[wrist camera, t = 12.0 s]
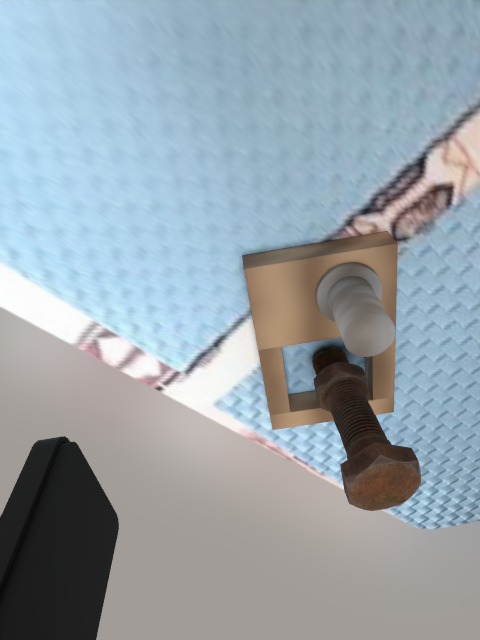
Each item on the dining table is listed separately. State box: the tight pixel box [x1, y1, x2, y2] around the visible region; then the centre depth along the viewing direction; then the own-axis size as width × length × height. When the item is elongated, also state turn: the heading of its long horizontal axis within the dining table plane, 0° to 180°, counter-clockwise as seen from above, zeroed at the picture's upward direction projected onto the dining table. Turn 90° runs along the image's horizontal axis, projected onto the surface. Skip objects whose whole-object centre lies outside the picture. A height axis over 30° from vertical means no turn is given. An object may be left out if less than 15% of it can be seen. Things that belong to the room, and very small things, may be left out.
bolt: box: [312, 347, 421, 511], centre depth 38 cm, size 6×5×15 cm
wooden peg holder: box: [243, 231, 398, 430], centre depth 39 cm, size 12×18×9 cm, turn 10°
